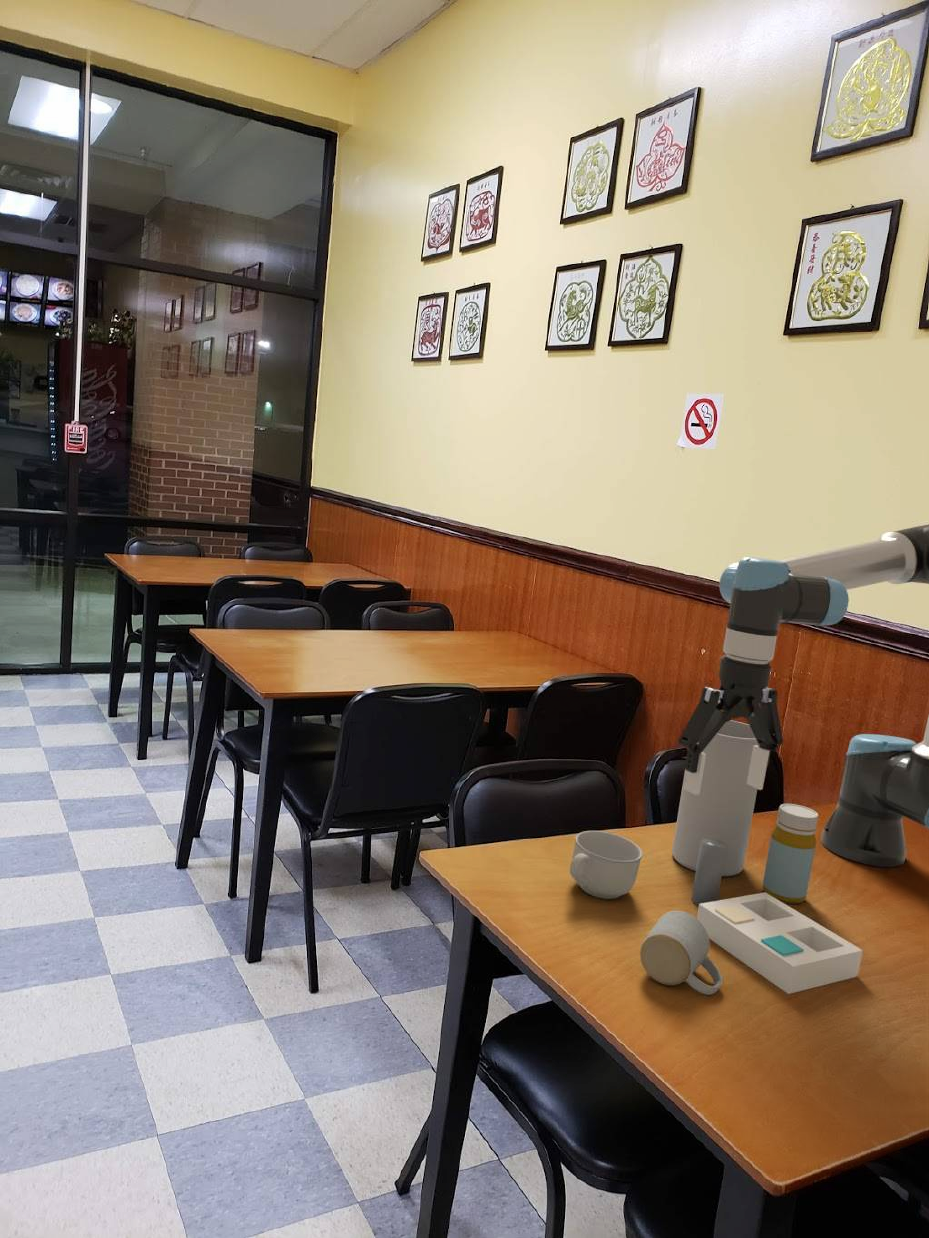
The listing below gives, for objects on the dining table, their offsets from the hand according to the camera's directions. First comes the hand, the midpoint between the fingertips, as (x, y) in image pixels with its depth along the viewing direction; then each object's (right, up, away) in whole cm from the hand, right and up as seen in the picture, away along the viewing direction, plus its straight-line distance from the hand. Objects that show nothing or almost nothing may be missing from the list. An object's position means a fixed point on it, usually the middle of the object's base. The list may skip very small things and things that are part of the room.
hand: (723, 789), depth 143 cm
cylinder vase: (+2, -17, +19) cm, 26 cm away
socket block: (+4, -22, -11) cm, 25 cm away
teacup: (-20, -17, +2) cm, 26 cm away
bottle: (+13, -20, +9) cm, 25 cm away
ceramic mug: (-12, -22, -21) cm, 32 cm away
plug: (-2, -19, +3) cm, 19 cm away
